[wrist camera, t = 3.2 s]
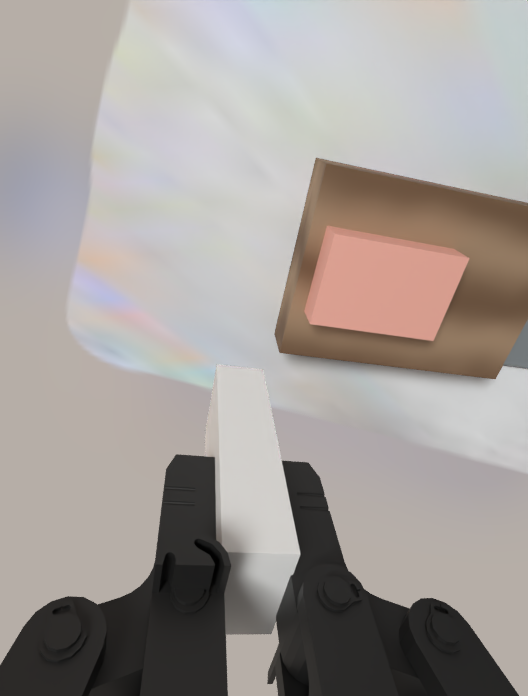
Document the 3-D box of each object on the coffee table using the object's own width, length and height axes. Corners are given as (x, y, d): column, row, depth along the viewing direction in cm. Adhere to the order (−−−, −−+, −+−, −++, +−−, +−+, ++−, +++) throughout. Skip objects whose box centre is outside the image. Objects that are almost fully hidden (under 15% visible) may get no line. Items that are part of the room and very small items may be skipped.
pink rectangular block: (304, 311, 30) (309, 324, 28) (327, 225, 27) (334, 233, 26) (421, 328, 32) (433, 340, 30) (454, 248, 29) (469, 258, 27)
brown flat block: (315, 157, 28) (326, 163, 25) (551, 208, 31) (582, 217, 29) (274, 333, 34) (279, 352, 32) (475, 359, 37) (495, 379, 35)
